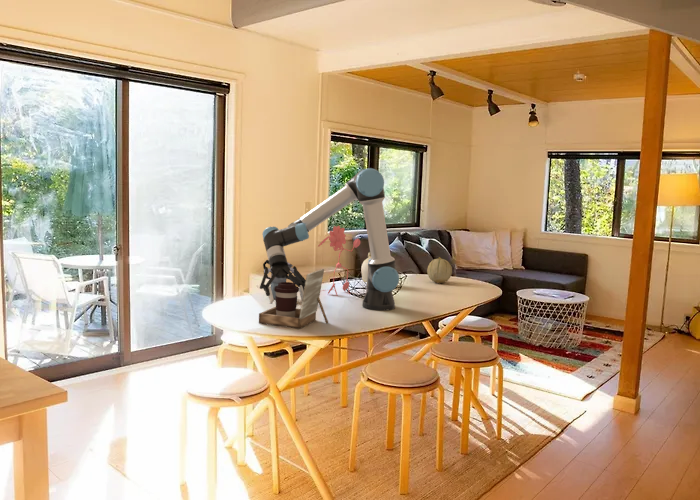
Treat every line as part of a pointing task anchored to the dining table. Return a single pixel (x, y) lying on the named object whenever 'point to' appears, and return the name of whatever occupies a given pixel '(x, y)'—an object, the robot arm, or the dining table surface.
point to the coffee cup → (286, 299)
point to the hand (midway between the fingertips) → (288, 301)
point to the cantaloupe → (439, 270)
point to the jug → (365, 268)
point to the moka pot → (276, 280)
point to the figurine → (337, 240)
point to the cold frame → (307, 309)
